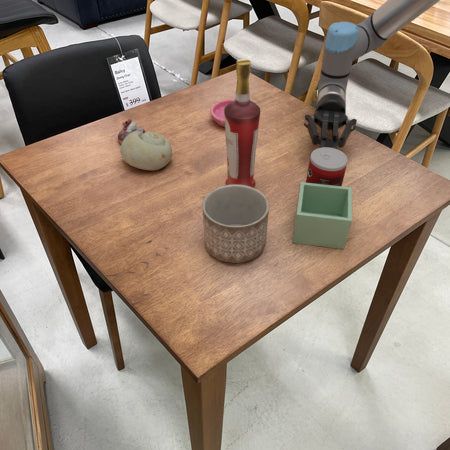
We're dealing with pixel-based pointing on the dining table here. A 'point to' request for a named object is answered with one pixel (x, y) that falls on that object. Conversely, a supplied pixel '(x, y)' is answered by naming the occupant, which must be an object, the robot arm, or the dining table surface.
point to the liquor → (241, 130)
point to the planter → (235, 222)
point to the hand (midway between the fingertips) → (327, 159)
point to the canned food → (327, 167)
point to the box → (323, 215)
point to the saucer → (219, 111)
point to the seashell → (146, 150)
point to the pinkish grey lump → (128, 130)
